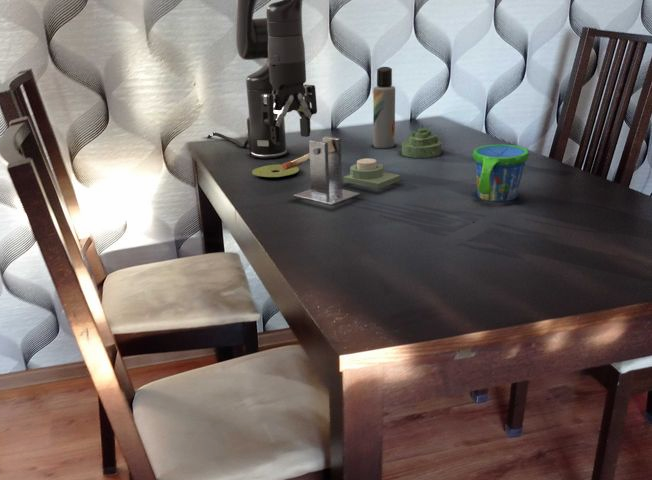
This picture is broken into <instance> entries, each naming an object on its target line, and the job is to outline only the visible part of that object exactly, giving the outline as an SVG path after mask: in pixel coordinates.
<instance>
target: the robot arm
mask: <svg viewBox="0 0 652 480" xmlns="http://www.w3.org/2000/svg"><path fill="white" fill-rule="evenodd" d="M257 2H258V0H237V5H236V7H237V9H236V24H235V25H236V27H235V29H236V30H235V42H236V50H237V53H238V56H239V57H240V59H242V60H243V61H252V60H253V61H254V60H266V61H265V63H264V65H262V67H260V68H259V69H258V70H255V71H254V72H252V73H251V74H249V75H247V76H246V78H245V87H246V96H247V97H246V99H247V105H248V107H247V108H248V109H247V110H248V117H247V118H246V127H247V135H246V136H247V138H246V139H245V140H244V143H242V142H240V141H238V140H236V139H234V138H233V137H230V136H227V135H224V134H222V133H219V132H215V131H214V132H215V133H214V132H212V133H213V136H210V135H209V134H208V135H207V137H206V139H209V140H210V139H211V138H213V137H219V138H221V139H223V140H225V141H229V142H231V143H232V144H235V145H237V146H238V147H239V148H242V149H244V148H247V146H248V149H249V155H250V156H251V157H253V158H255V159H261V160H263V159H264V160H267V159H269V160H270V159H276V158H277V159H278V158H282V157H284V156H286V155H287V154H288V149H287V140H286V137H287V136H286V124H285V123H286V122H285V117H286V115H287V113H291V112H294V111H295V112H297V114H298V115H299V130H300V131H299V134H300V137H303V138H304V137H305V138H308V137H310V135H311V130H312V129H311V127H312V126H311V119H312V117H313V115H316V114H317V113H318V105H317V94H316V93H317V92H316V85H314V84H305V83H306V82H307V67H306V50H305V41H304V34H303V0H279V1H276V2H272V3H270V4H269V5H268V6H267V7H266V11H265V12H266V13H265V15H266V17H261V18H254V12H255V9H256V5H257Z"/></svg>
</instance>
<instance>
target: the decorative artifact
mask: <svg viewBox="0 0 652 480" xmlns="http://www.w3.org/2000/svg"><path fill="white" fill-rule="evenodd" d="M441 154H442V141H440V140H439V135H438V134H436V133H434V134H432V130H429V129H428V128H424V125H423V124H421V125H420V127H419V128H417V131H415V130H413V131H412V132H411V133H409V134H408V138H407V140H403V141H402V142H401V155H402V156H404V157H408V158H413V159H427V158H434V157H438V156H440V155H441Z"/></svg>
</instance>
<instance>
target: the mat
mask: <svg viewBox="0 0 652 480" xmlns="http://www.w3.org/2000/svg"><path fill="white" fill-rule="evenodd" d="M282 164H283V163H282ZM282 164H279V163H278V164H269V165H264V166H260V167H256V168H254V169H253V170H252V171H251V174H252V175H253V176H257V177H263V178H280V177H286V176H290V175H294V174H296V173H298V172H299V171H300V168H299V166H296V167H293V168H290V169H287V170H284V169H283V168H282Z"/></svg>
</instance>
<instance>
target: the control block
mask: <svg viewBox="0 0 652 480" xmlns="http://www.w3.org/2000/svg"><path fill="white" fill-rule="evenodd" d="M401 179H402V175H401V174H396V173H390V172H385V170H384V165H383V164H381V163H377V168H376V169H372V170H360V169H357V163H356V164H355V163H354V164H352V165H351V166H350V168H349V174H348V175H345V176H343V183H346V184H351V185H356V186H360V187H365V188H369V189H370V188H371V189H376V190H380V189H382V188H385V187H388V186H390V185H393V184H396V183H398V182H401V181H402V180H401Z"/></svg>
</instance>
